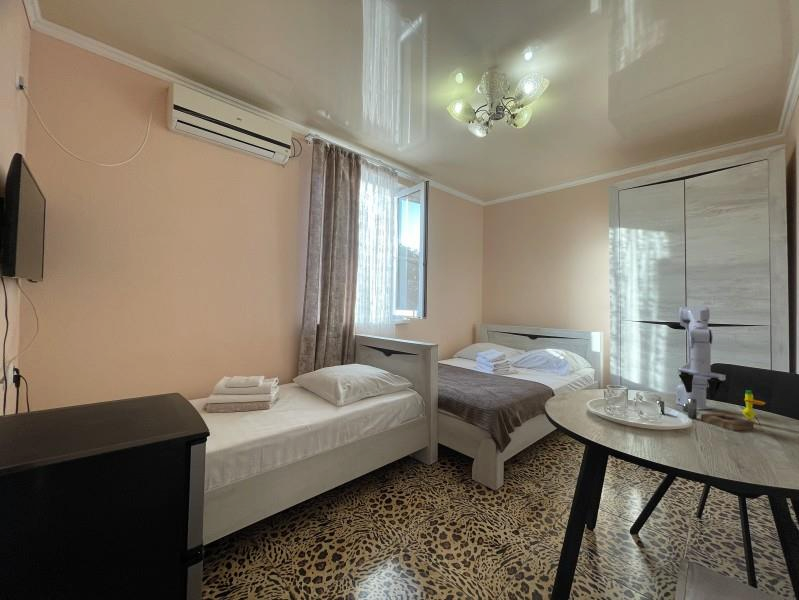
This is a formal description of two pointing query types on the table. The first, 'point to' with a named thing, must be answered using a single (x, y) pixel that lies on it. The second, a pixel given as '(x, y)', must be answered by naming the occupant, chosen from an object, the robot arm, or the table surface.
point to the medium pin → (661, 405)
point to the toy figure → (750, 406)
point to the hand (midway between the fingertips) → (700, 394)
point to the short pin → (685, 407)
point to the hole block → (727, 421)
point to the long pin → (692, 408)
